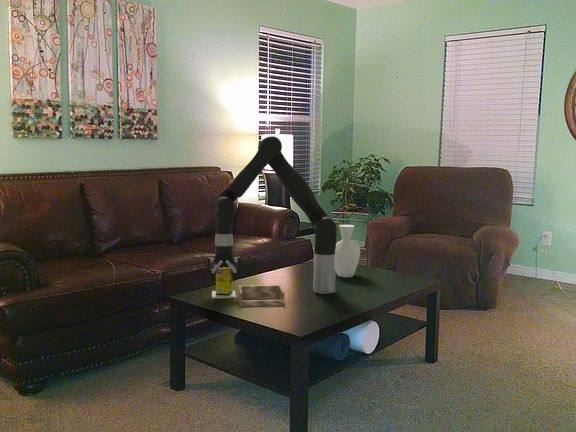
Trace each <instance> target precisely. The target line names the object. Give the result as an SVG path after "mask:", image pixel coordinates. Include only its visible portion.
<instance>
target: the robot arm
mask: <svg viewBox="0 0 576 432" xmlns="http://www.w3.org/2000/svg"><path fill="white" fill-rule="evenodd" d="M282 149H283V144H282V141H281V140H280V138H278V136H277V137H276V136H275V135H269V136H266V137H264V138H262V139H261V140H260V141H259V143H258V146H257V151H256V153H255V155H254V157H252V159H251V160H250V161H249V162H248V163H247V165H245V166H244V168H242V169H241V170H240V172H238V174H236V176H235V177H234V179H233V180H232V181H231V182H230V183H229V185H228V186H227V187H226V188H225V189H224V190H223V191H222V192H221V193H220V194H219V195H218V196H217V197H216V199H215V200H214V203H213V204H214V205H213V206H214V209H215V211H217V220H216V221H215V235H214V236H215V237H214V257H210V256H208V257H207V265H206V272H207V273H210V274H211V275H210V276H211V281H212V282H213V283H216V270H217V269H219V268H223V267H225V268H231V269H232V270H233V282H236V281H237V280H238V277H237V275H238V274H237V273H239V272H241V271H242V265H241V263H242V262H241V257H240V256H237V257H235V256H234V236H233V220H234V215H235V204H234V203H235V202H236V201H237V199H240V198H242V197H243V195H244V194H245V193H246V192H247V190H248V189H249V188H250V187H251V185H252V184H253V183H254V181H255V180H256V179H257V178H258V176H259V175H260V173H262V171H263V170H264V169H265V167H266V166H268V165H269V167H270V168H271V169H272V171H273V172H274V173H275V175H276V176H277V178H278V180H279V181H280V183H281V185H282V186H283V187H284V189H285V191H286V193H288V196H290V198H291V200H293V201H294V203H295V204H296V206H298V208H300V210H302V212H303V213H304V214H305V215H306V217H307V218H308V220H309V221H310V224H311V226H312V227H313V230H314V232H315V233H314V234H315V236H314V237H315V238H314V248H313V276H312V277H313V279H312V283H313V284H312V292H314V293H316V294H320V295H321V294H322V295H326V294H327V295H328V294H333V293H334V294H335V293H336V277H337V272H336V271H335V249H336V244H337V233H338V230H337V229H338V228H337V224H336V222H335V220H334V219H332V218H331V217H330V216H329V214H328V213H326V211H325V210H324V209H323V207H322V206H321V205H320V203H319V202H318V200H317V197H316V196H315V194H314V192H313V190H312V189H311V186H310V185H309V184H308V182H307V181H306V179H305V178H304V176H302V175H301V173H300V172H299V171H298V170H297V169H296V168H294V166H292V165H291V163H289V161H288V160H287V159H286V157H285V155H284V154H283V153H282ZM213 261H214V263H215V264H214V266H213V267H212V268H211V264H212V263H213ZM233 262H235V263H237V268H236V267H235V266H234V264H233Z"/></svg>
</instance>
